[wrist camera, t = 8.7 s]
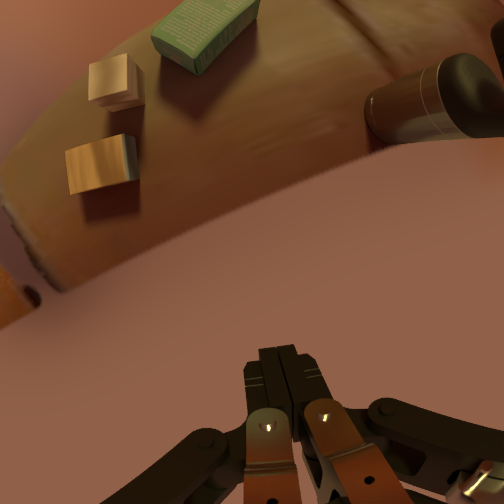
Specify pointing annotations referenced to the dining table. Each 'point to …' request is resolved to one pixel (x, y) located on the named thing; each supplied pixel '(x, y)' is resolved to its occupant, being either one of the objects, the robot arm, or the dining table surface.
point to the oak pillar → (102, 163)
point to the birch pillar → (116, 83)
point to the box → (202, 30)
